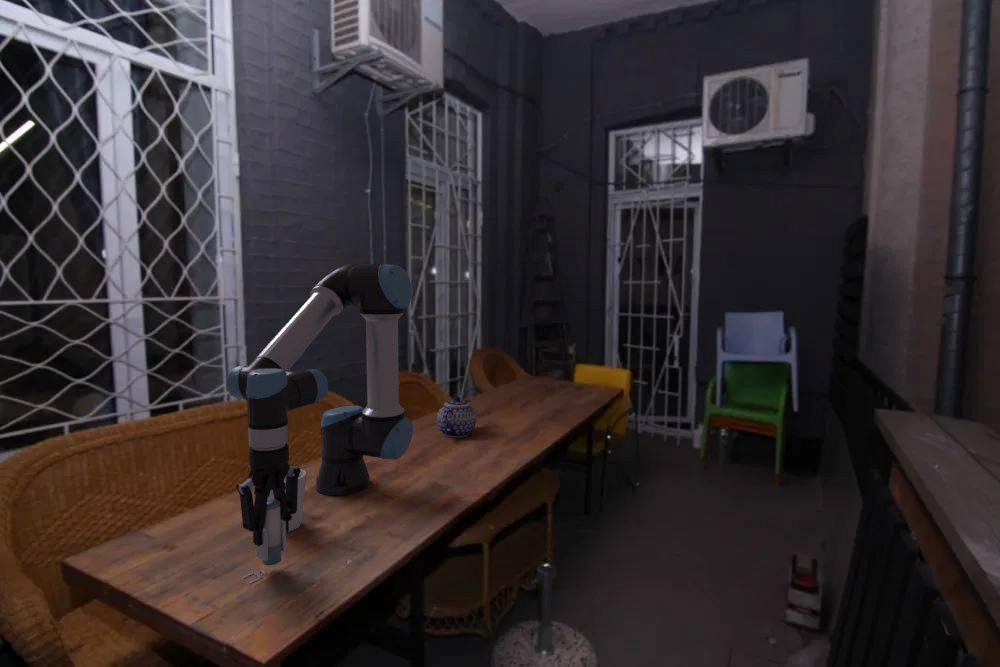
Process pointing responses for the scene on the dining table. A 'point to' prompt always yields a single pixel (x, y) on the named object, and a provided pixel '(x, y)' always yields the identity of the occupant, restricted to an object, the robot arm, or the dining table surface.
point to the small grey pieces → (266, 573)
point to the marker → (273, 531)
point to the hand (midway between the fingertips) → (271, 553)
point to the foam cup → (297, 516)
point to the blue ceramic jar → (456, 418)
